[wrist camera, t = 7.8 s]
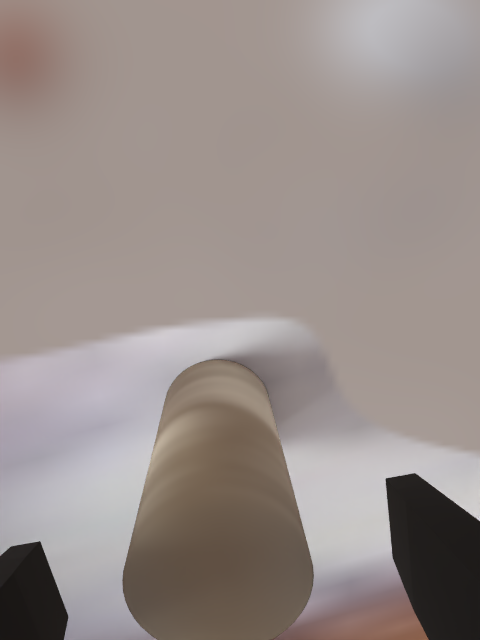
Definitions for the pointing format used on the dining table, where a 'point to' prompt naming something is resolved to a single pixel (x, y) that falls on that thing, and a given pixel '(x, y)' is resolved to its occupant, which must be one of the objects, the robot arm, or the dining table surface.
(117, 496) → the dining table surface
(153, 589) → the tan wooden peg
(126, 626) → the dining table surface
